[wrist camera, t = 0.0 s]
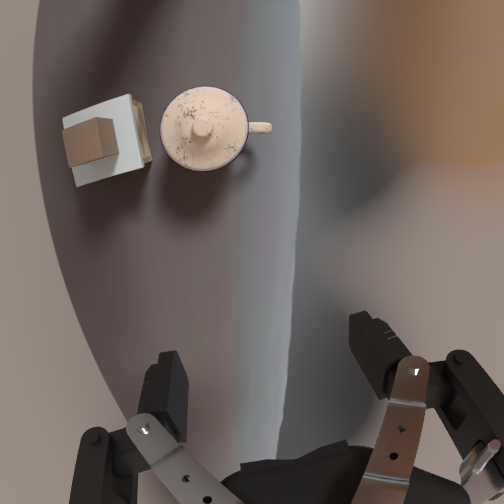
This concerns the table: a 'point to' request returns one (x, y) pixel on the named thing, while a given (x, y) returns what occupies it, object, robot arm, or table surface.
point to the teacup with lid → (206, 128)
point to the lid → (102, 140)
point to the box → (142, 131)
